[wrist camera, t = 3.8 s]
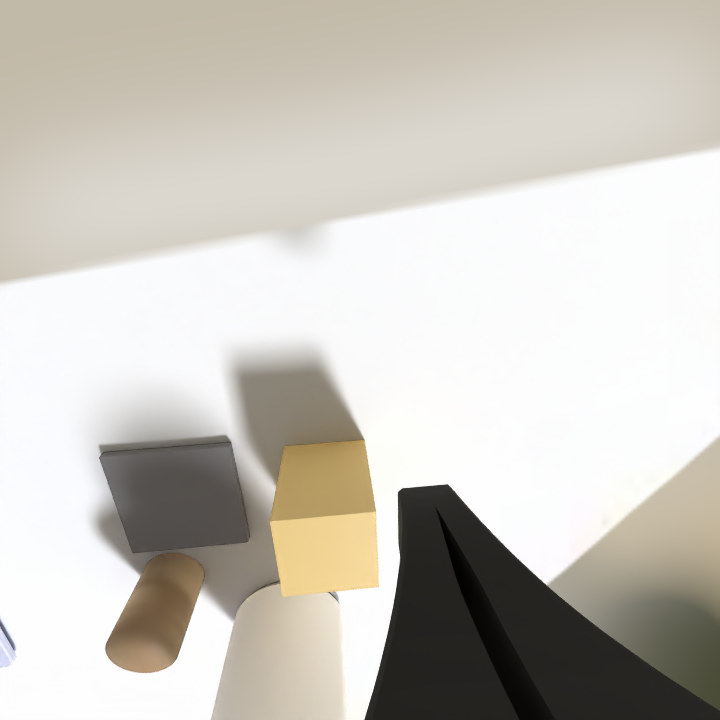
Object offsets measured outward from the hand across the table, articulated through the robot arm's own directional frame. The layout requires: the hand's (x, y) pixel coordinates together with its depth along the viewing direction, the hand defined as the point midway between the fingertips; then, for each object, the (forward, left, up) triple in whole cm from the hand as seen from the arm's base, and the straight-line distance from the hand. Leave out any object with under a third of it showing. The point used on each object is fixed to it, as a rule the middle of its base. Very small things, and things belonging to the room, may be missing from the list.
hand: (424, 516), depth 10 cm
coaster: (-11, -6, -8) cm, 15 cm away
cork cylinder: (-12, -11, -8) cm, 18 cm away
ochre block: (-3, -5, -8) cm, 10 cm away
